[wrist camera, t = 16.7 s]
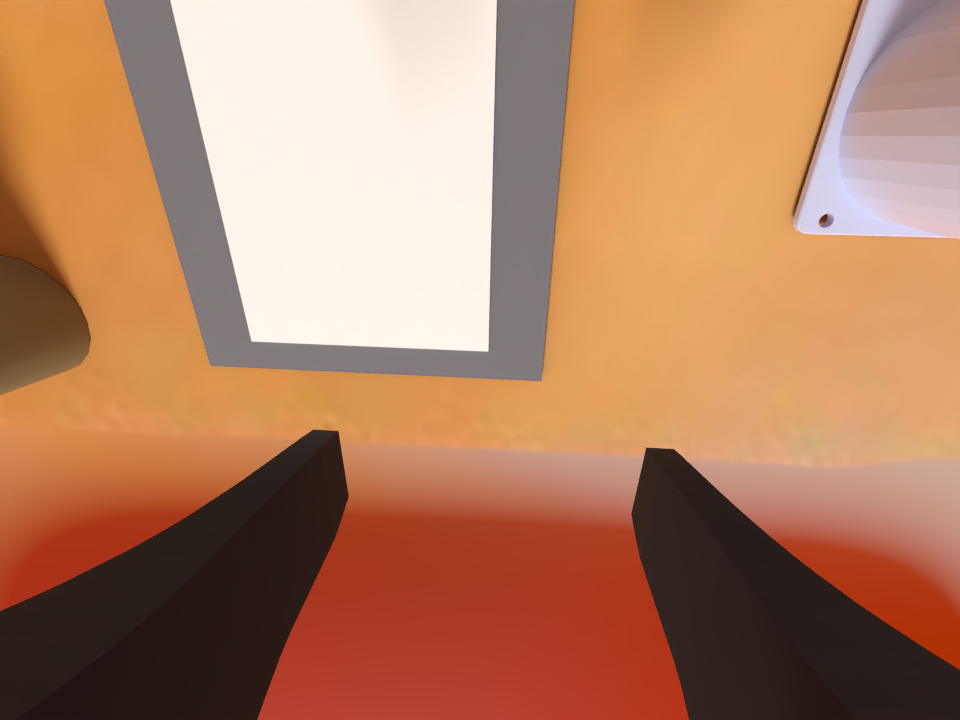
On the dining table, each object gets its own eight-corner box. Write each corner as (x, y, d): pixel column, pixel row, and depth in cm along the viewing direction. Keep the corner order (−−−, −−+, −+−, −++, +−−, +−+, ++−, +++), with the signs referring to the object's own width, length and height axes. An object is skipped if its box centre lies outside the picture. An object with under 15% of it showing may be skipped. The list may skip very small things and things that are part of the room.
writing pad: (579, -73, 14) (581, -81, 13) (541, 376, 21) (541, 383, 21) (93, -67, 15) (77, -75, 14) (215, 362, 22) (208, 367, 21)
